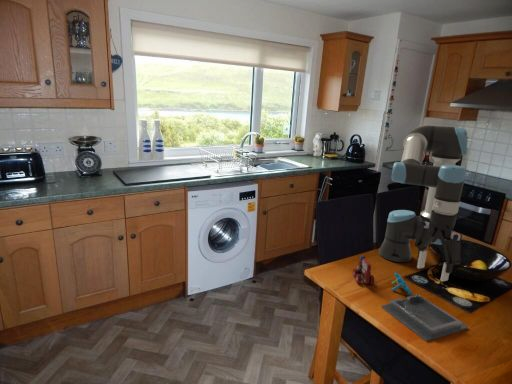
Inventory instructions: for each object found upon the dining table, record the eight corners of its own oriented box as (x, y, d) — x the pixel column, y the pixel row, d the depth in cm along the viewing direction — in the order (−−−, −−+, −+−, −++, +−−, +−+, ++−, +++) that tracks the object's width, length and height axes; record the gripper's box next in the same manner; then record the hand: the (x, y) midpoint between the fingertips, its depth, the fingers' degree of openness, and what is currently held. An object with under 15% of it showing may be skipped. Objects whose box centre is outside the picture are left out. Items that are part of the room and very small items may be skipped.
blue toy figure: (416, 298, 133) (400, 279, 132) (402, 305, 134) (387, 286, 134) (409, 284, 143) (394, 266, 142) (396, 291, 145) (382, 273, 144)
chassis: (420, 298, 135) (421, 291, 134) (468, 328, 117) (469, 321, 116) (381, 307, 127) (382, 300, 126) (426, 341, 109) (427, 333, 108)
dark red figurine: (366, 274, 152) (369, 252, 150) (374, 288, 140) (378, 265, 138) (350, 273, 152) (353, 251, 150) (358, 287, 140) (361, 264, 138)
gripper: (409, 203, 120) (399, 261, 126) (467, 223, 101) (452, 291, 106) (425, 202, 123) (414, 259, 129) (484, 221, 104) (468, 287, 109)
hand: (431, 273), depth 117 cm, fingers open, 9 cm apart
